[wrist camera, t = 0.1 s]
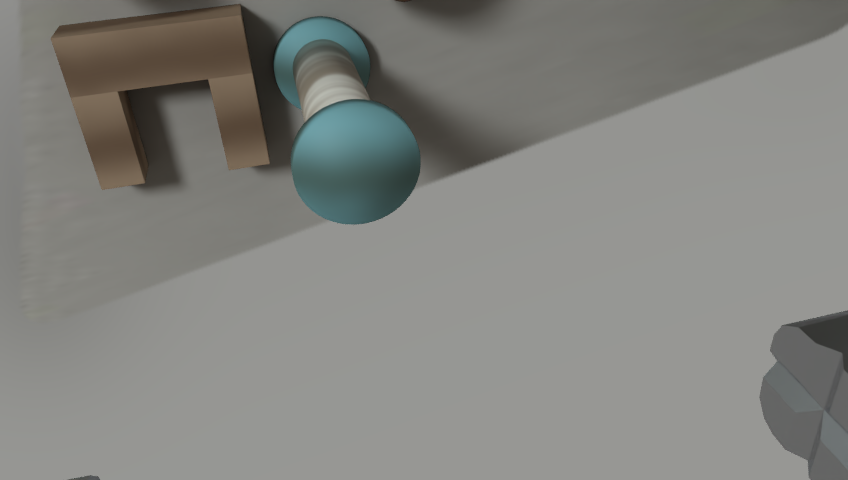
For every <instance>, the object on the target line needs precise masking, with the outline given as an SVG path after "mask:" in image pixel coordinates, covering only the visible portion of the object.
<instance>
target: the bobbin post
mask: <svg viewBox="0 0 848 480" xmlns="http://www.w3.org/2000/svg"><path fill="white" fill-rule="evenodd" d="M273 66H274V73H275V78H276V82H277V84H278V87H279V89H280V91H281V92H282V94H283V95H284V96H285V98H286V99H287V100H288V101H289V102H290V103H292V104H293V105H294V106H296V107H297V108H299V109H301V110H302V113H303V117H304V122H305V123H304V124H303V126H302V127H301V128H300V130H299V131H298V133H297V135H296V137H295V140H294V143H293V146H292V151H291V169H292V175H293V180H294V184H295V187H296V190H297V192H298V194H299V196H300V197H301V199H302V200H303V202H304V203H305V204H306V205H307V206H308V207H309V208H310V209H311V210H312V211H313V212H315V213H316V214H318V215H319V216H321V217H323V218H325V219H327V220H330V221H333V222H337V223H342V224H364V223H368V222H372V221H376V220H378V219H381V218H383V217H385V216H387V215H389V214H390V213H392V212H393V211H395V210H396V209H397V208H398V207H400V206H401V205H402V204H403V203H404V202H405V201H406V199H407V198H408V197H409V196H410V194H411V193H412V191H413V189H414V187H415V185H416V183H417V180H418V177H419V173H420V151H419V148H418V144H417V142H416V140H415V138H414V136H413V134H412V132H411V130H410V128H409V127H408V125H407V124H406V122H405V121H404V120H403V119H402V117H401V116H400V115H398V114H397V113H396V112H395V111H394V110H392V109H391V108H389V107H387V106H385V105H383V104H381V103H378V102H375V101H371V100H370V98H369V96H368V93H367V91H366V89H365V88H366V86H367V83H368V80H369V76H370V59H369V55H368V52H367V49H366V47H365V45H364V43H363V41H362V40H361V38H360V37H359V35H358V34H357V33H356V32H355V30H353V29H352V28H351V27H350V26H349V25H347V24H346V23H344V22H342V21H340V20H337V19H335V18H331V17H323V16H318V17H311V18H307V19H304V20H301V21H299V22H297V23H295V24H294V25H292V26H291V27H290V28H289V29H288V30H287V31H286V32H285V33H284V34H283V35H282V37H281V38H280V40H279V42H278V44H277V46H276V49H275V52H274V59H273Z"/></svg>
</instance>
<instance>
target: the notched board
mask: <svg viewBox="0 0 848 480" xmlns="http://www.w3.org/2000/svg"><path fill="white" fill-rule="evenodd" d="M51 41H52V44H53V47H54V50H55V53H56V56H57V59H58V62H59V65H60V67H61V70H62V73H63V76H64V79H65V82H66V85H67V88H68V91H69V94H70V97H71V100H72V103H73V106H74V109H75V112H76V115H77V118H78V121H79V124H80V127H81V130H82V132H83V135H84V138H85V141H86V144H87V147H88V150H89V153H90V156H91V159H92V162H93V165H94V168H95V171H96V174H97V177H98V180H99V183H100V186H101V189H102V190H104V189H111V188H117V187H124V186H130V185H137V184H143V183H145V181H146V176H147V171H148V166H149V165H148V162H147V159H146V155H145V152H144V148H143V145H142V142H141V138H140V135H139V131H138V128H137V124H136V121H135V118H134V114H133V111H132V107H131V104H130V101H129V97H128V94H127V90H132V89H139V88H147V87H154V86H162V85H169V84H176V83H184V82H191V81H199V80H206V79H208V81H209V85H210V89H211V94H212V98H213V103H214V107H215V111H216V116H217V120H218V124H219V129H220V133H221V137H222V142H223V146H224V151H225V155H226V159H227V164H228V168H229V170H233V169H240V168H246V167H253V166H259V165H265V164H270V161H269V153H268V146H267V140H266V135H265V130H264V125H263V120H262V114H261V109H260V104H259V99H258V94H257V89H256V83H255V78H254V73H253V68H252V63H251V58H250V52H249V47H248V42H247V37H246V32H245V27H244V21H243V16H242V11H241V6H240V4H236V5H228V6H220V7H211V8H203V9H195V10H186V11H178V12H170V13H162V14H153V15H145V16H137V17H128V18H120V19H112V20H103V21H95V22H87V23H78V24H70V25H62V26H59V27H58V29H57V30H56V32H55V33H54V34H53V36H52V37H51Z"/></svg>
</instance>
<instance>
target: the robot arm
mask: <svg viewBox="0 0 848 480" xmlns="http://www.w3.org/2000/svg"><path fill="white" fill-rule="evenodd" d="M770 351H771V352H772V354H773V355H774V356H775V358H776V359H777V362H776V364H775V365H774V366H773V367H772V368H771V369H770V370H769V371H768V373H767V374H766V375H765V376H764V377H763V382H762V387H761V392H760V401H761V406H762V410H763V415H764V419H765V420H766V422H767V424H768V426H769V428H770V430H771V432H772V434H773V435H774V436H775V437H776V439H777V440H778V441H779V442H780V444H781V445H782V446H783V447H784V448H785V449H786V450H788V451H790V452H792V453H794V454H796V455H798V456H800V457H802V458H804V459H806V460H808V469H809V478H810V479H811V480H848V311H843V312H839V313H835V314H830V315H826V316H821V317H817V318H813V319H808V320H804V321H799V322H795V323H791V324H786V325H782V327H781V328H780V329H779V330H778V331H777V332H776V333H775V335H774V337H773V341H772V345H771V349H770ZM69 480H100V479H99V477H98V476H91V475H90V476H85V477H80V478H74V479H69Z"/></svg>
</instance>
